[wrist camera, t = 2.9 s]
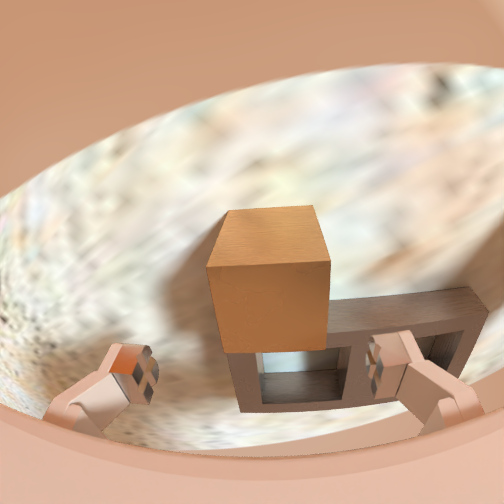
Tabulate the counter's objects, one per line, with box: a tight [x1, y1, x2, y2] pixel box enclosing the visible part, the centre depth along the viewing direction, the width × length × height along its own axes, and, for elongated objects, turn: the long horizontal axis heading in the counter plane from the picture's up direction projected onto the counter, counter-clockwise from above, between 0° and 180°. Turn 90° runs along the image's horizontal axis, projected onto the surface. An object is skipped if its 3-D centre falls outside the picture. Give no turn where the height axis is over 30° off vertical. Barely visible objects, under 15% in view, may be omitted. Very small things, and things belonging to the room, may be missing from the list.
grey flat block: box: [227, 287, 489, 413], centre depth 19 cm, size 17×8×3 cm, turn 95°
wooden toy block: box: [206, 205, 331, 353], centre depth 15 cm, size 4×4×6 cm
